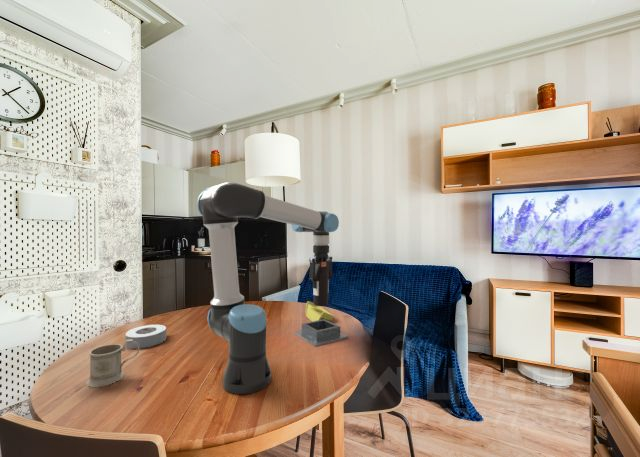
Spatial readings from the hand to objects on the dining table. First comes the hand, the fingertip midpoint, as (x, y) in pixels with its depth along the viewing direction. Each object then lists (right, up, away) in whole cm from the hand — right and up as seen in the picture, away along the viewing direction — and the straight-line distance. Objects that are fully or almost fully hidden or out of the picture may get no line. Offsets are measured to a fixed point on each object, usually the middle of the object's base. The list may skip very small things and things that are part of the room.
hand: (321, 293), depth 131 cm
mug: (-68, -19, -39) cm, 81 cm away
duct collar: (0, -19, 0) cm, 19 cm away
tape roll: (-77, -19, -8) cm, 80 cm away
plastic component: (-1, -20, +27) cm, 33 cm away
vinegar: (0, -5, 0) cm, 5 cm away
